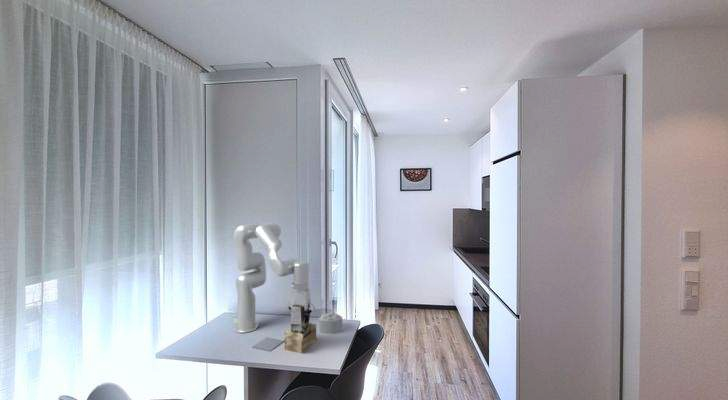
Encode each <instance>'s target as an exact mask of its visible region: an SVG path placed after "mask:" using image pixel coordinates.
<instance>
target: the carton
mask: <svg viewBox="0 0 728 400" xmlns="http://www.w3.org/2000/svg"><path fill="white" fill-rule="evenodd" d="M316 342H317V323H311V322H309V332H308V333H307V334H306V335H305V337H304V338H303V334H299V333H294V332H291V331H288V330H284V350H285V351H289V352H294V353H299V354H304V353H305V352H307V351H308V349H309V348H311V347H312V346H313V345H314V344H315V343H316Z"/></svg>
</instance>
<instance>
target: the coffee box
mask: <svg viewBox="0 0 728 400" xmlns="http://www.w3.org/2000/svg"><path fill="white" fill-rule="evenodd" d="M307 312H308V311H307ZM305 315H306V314H305V311H304V306H299V305H292V308H291V312H290V332H294V333H299V334H303V338H304V337H305V335H306V334H307V333H308V332H309V323H310V321H309V322H307V323H305Z"/></svg>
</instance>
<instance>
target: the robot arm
mask: <svg viewBox="0 0 728 400" xmlns="http://www.w3.org/2000/svg"><path fill="white" fill-rule="evenodd" d="M234 230H235V231H234V233H233V239H234V242H235V247H236V249H235V250H236V260H237V261H236V262H237V263H236V264H237V268H238V270H239V271H240V272H245V273H242V274H240V275H239V276H237V278H236V279H235V286H236V292H237V318H235V319H233V322H232V324H235V327H234V331H235V333H239V334H246V333H252V332H254V331H256V330H257V329H258V328H259V324H258V323H257V322H256V294H255V293H254V291H253V289H256V288H260V287H262V286H264V285H265V284H266V282H267V269H266V259H265V256H264V255H263V253H261V252H258V251H255V252H253V245H252V243H251V241H250V240H251V239H258V240H259V241H260V243H261V244H262V245H263V247H264V249H265V250H267V261H268V265H269V267H270V269H271V270H272V271H273V272H274V273H275V274H276V275H277V276H278V277H288V276H289V275H293V282H292V283H291V286H292V288H291V290H290V297H289V301H288V302H286V305H287V307H288V309H289V311H290V313H291V308H292V305H299V306H304V311H305V314H306V315H305V323H307V322H309V323H310V317H311V316H310V314H311V313H312V312H314V311H315V309H316V306H314V304H313V303H312V297H311V290H310V288H309V283H310V281H309V280H310V279H309V278H310V277H309V276H310V264H309V262H308V261H305V260H300V259H297V258H291V259H285V260H281V259H280V257H279V256H278V253H277V252H278V251H280V249H281V248H282V246H283V242H282V240H281V239H280V238H279V237H281V234H282V231H281V227H280V226H279V225H278V224H276V223H258V222H257V223H246V224H241V225H239V226H237V227H236V228H235V229H234ZM249 239H250V240H249ZM251 270H252V271H251ZM246 271H250V272H246ZM307 311H308V312H307Z"/></svg>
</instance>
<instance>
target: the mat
mask: <svg viewBox="0 0 728 400" xmlns="http://www.w3.org/2000/svg"><path fill="white" fill-rule="evenodd" d="M283 343H285V340H282V339H276V338H272V337H267V336H266V337H265V338H263V339H262V340H261V341H259V342H257V343H256V344H255V345H253V346H251V347H252V348H254V349H258V350H261V351H267V352H268V351H269V352H272V351H273V350H275V349H276V348H277V347H279V346H281V344H283Z"/></svg>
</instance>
